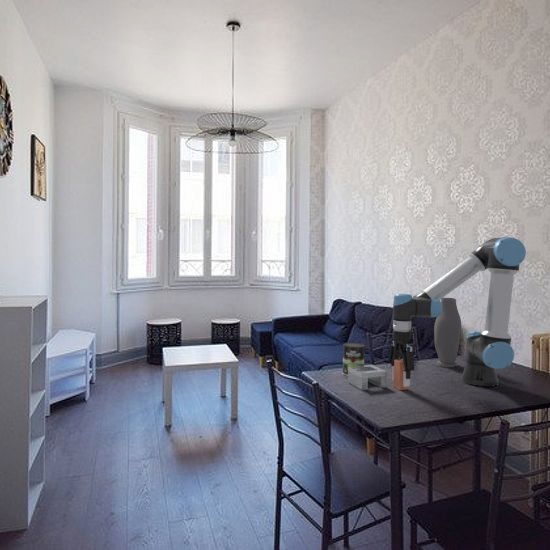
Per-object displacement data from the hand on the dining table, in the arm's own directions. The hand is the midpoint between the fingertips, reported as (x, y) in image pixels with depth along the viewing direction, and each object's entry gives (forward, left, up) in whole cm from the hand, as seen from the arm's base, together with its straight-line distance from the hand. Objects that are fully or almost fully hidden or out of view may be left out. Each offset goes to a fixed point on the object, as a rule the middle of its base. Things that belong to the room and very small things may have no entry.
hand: (400, 383), depth 188 cm
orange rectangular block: (0, 0, -2) cm, 2 cm away
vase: (-47, -26, -2) cm, 54 cm away
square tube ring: (+11, -9, -2) cm, 14 cm away
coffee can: (+8, -26, -2) cm, 27 cm away
